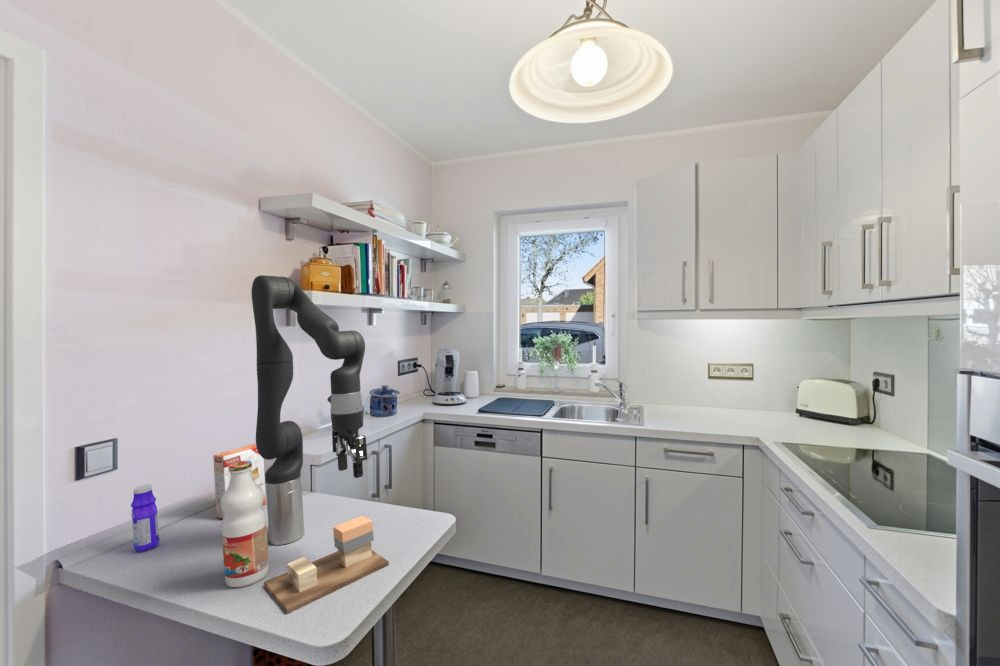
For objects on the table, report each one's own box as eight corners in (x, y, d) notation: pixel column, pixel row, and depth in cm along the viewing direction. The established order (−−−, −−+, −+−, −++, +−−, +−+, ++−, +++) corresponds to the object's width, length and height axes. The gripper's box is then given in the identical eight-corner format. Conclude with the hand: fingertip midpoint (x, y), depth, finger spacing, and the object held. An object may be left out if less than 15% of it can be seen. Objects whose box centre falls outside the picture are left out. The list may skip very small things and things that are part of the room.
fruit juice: (275, 574, 108) (268, 461, 107) (233, 593, 100) (225, 472, 100) (260, 562, 114) (253, 455, 113) (219, 579, 107) (211, 465, 106)
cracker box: (227, 521, 141) (222, 456, 140) (215, 518, 143) (211, 454, 143) (267, 503, 153) (263, 444, 153) (256, 501, 156) (252, 443, 155)
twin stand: (264, 586, 103) (263, 565, 103) (359, 545, 120) (358, 527, 120) (287, 613, 92) (286, 590, 92) (388, 565, 109) (387, 545, 109)
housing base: (364, 534, 115) (363, 525, 115) (373, 540, 112) (373, 530, 112) (334, 546, 110) (334, 536, 110) (343, 553, 106) (343, 543, 106)
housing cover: (363, 525, 115) (362, 515, 115) (372, 530, 112) (372, 520, 112) (333, 536, 110) (333, 526, 110) (342, 542, 106) (342, 532, 106)
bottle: (132, 547, 126) (127, 487, 126) (156, 539, 130) (152, 481, 130) (136, 555, 121) (131, 493, 121) (161, 546, 125) (157, 486, 125)
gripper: (374, 410, 108) (378, 475, 109) (348, 404, 118) (351, 464, 119) (345, 415, 103) (349, 484, 103) (320, 409, 113) (324, 471, 114)
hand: (350, 473), depth 111 cm, fingers open, 8 cm apart
